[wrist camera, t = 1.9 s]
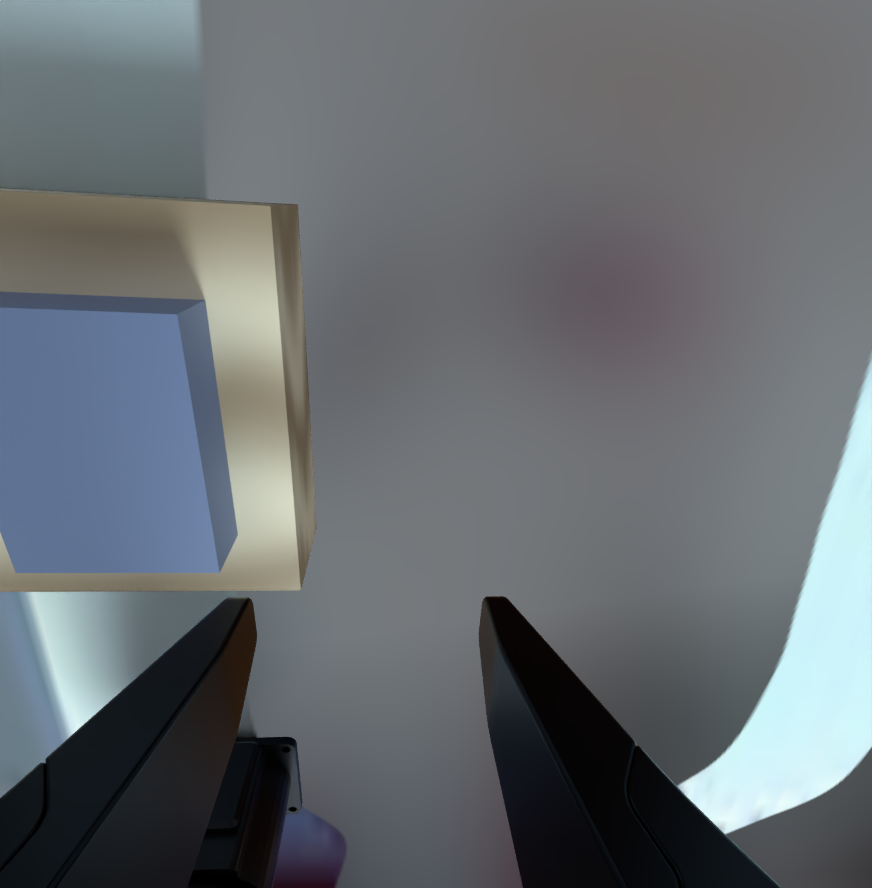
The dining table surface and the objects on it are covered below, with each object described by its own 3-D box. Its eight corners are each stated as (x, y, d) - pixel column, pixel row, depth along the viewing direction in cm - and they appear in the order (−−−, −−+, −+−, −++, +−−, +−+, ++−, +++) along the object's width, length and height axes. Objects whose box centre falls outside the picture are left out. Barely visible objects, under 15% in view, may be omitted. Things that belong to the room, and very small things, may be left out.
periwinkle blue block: (237, 535, 18) (219, 572, 16) (55, 533, 17) (15, 573, 15) (205, 299, 14) (176, 314, 12) (-24, 290, 14) (-87, 304, 12)
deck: (316, 528, 23) (300, 590, 19) (29, 526, 22) (-45, 591, 18) (297, 204, 17) (270, 205, 13) (-91, 182, 16) (-233, 177, 12)
